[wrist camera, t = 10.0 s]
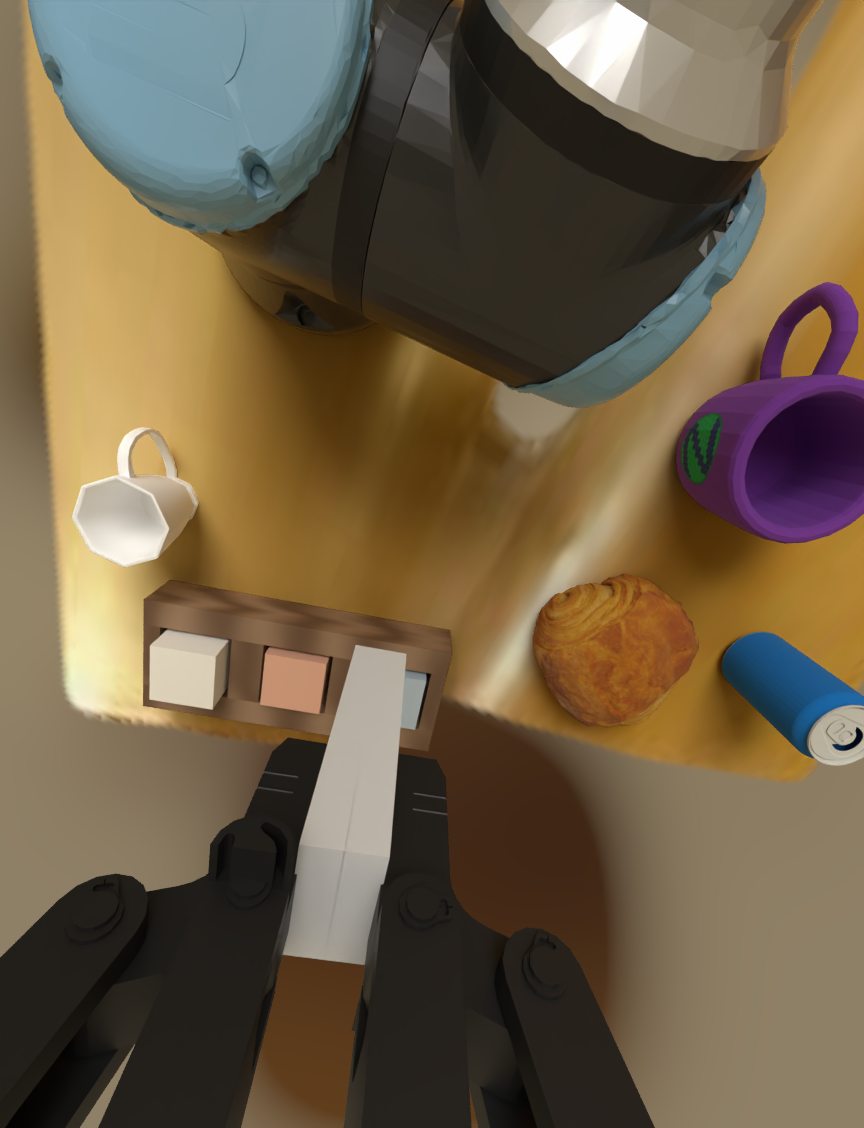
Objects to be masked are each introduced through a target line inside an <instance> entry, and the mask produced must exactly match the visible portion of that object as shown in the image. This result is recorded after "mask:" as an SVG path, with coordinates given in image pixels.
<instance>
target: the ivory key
mask: <svg viewBox="0 0 864 1128" xmlns="http://www.w3.org/2000/svg"><path fill="white" fill-rule="evenodd" d="M231 643H232V639H226V638H220V637H215V636H209V635H203V634H197V633H191V632H185V631H180V630H174V629H167V630H166V631H165V632H164V633H163V634H162V635H161V636H160V637H159V638H158V639H156V640H155V641H154V642H153V643H152V644H151V645H150V691H149V700H155V701H162V702H168V703H174V704H180V705H186V706H193V707H199V708H205V709H211V710H213V708H214V707H215V705H216V704H217V702H218V701H219V699H220V698H221V696H222V695H223V693H224V692H225V690H226V689H227V688H228V684H229V670H230V657H231Z"/></svg>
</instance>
